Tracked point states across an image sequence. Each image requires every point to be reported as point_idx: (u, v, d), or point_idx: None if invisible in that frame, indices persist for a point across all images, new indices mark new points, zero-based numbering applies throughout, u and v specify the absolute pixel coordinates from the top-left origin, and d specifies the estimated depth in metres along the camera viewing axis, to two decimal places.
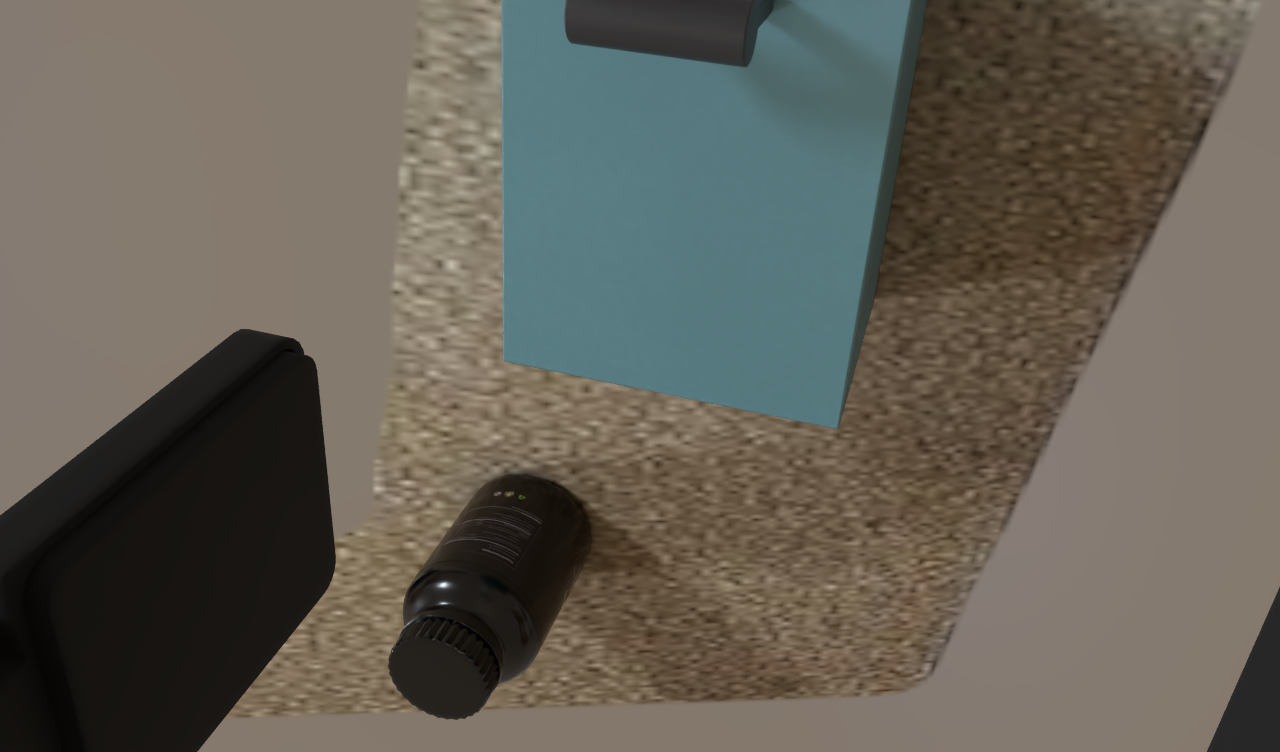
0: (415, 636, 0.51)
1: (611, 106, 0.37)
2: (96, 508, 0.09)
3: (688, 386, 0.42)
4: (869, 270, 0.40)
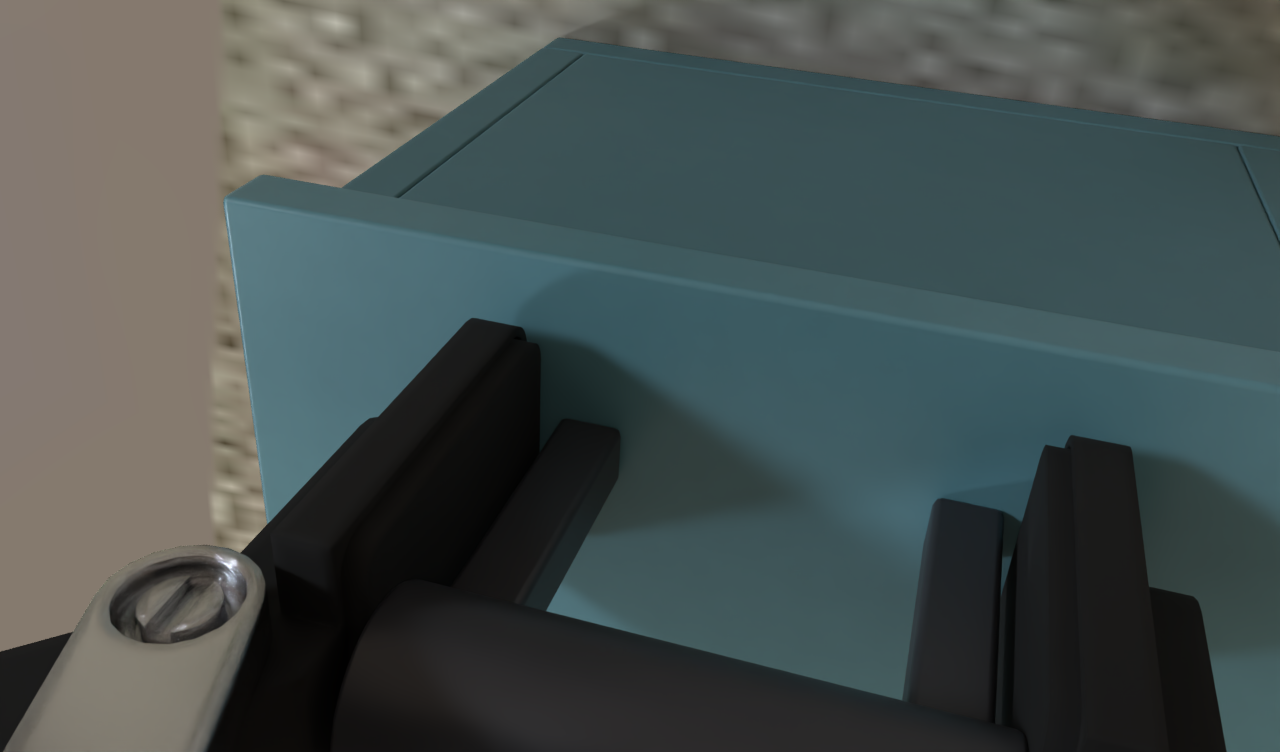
0: None
1: None
2: (391, 485, 0.09)
3: None
4: None
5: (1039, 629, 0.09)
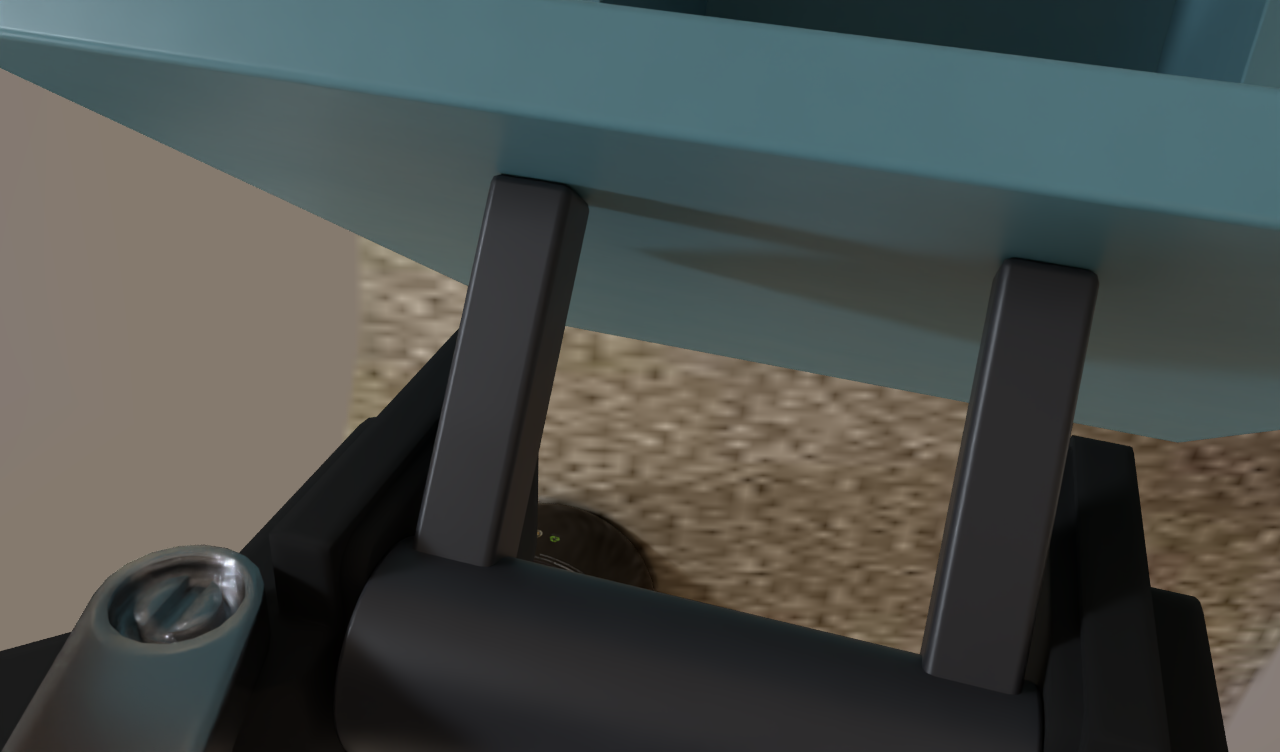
0: None
1: (597, 263, 0.13)
2: (390, 485, 0.09)
3: (885, 384, 0.22)
4: None
5: (1041, 629, 0.09)
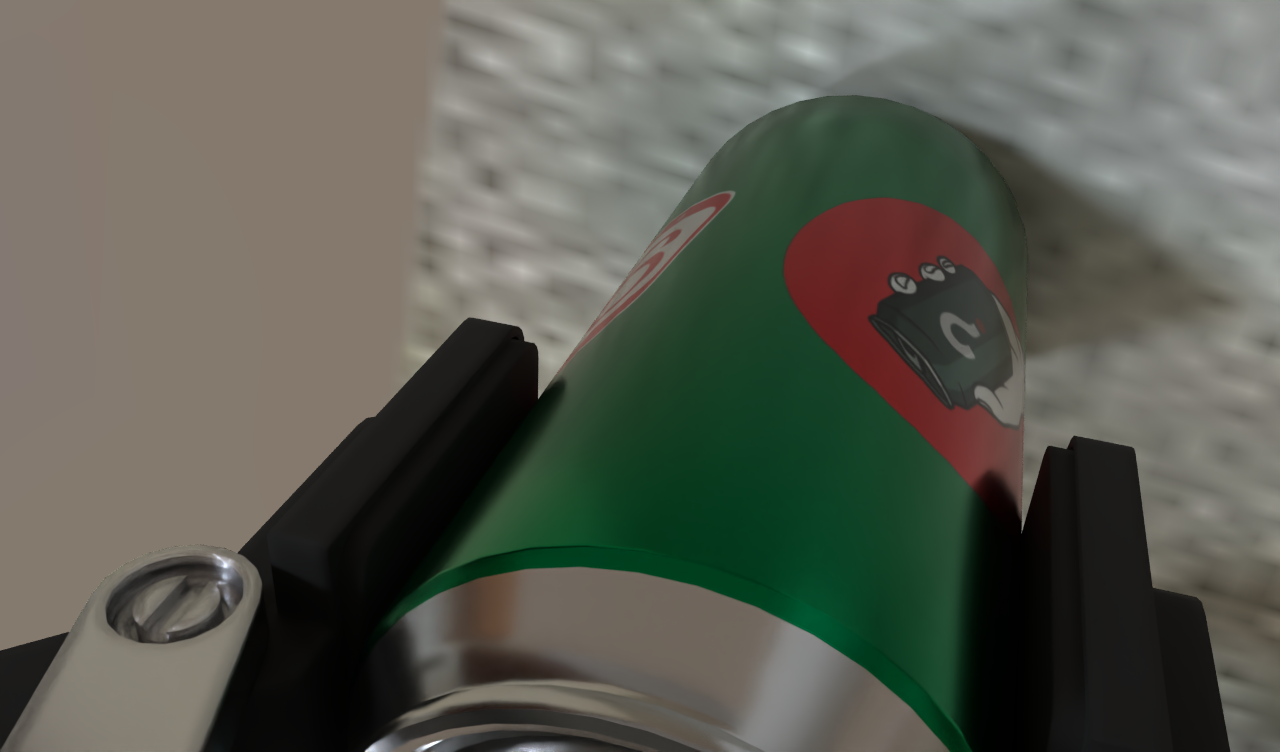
0: None
1: None
2: (388, 485, 0.09)
3: None
4: None
5: (1042, 630, 0.09)
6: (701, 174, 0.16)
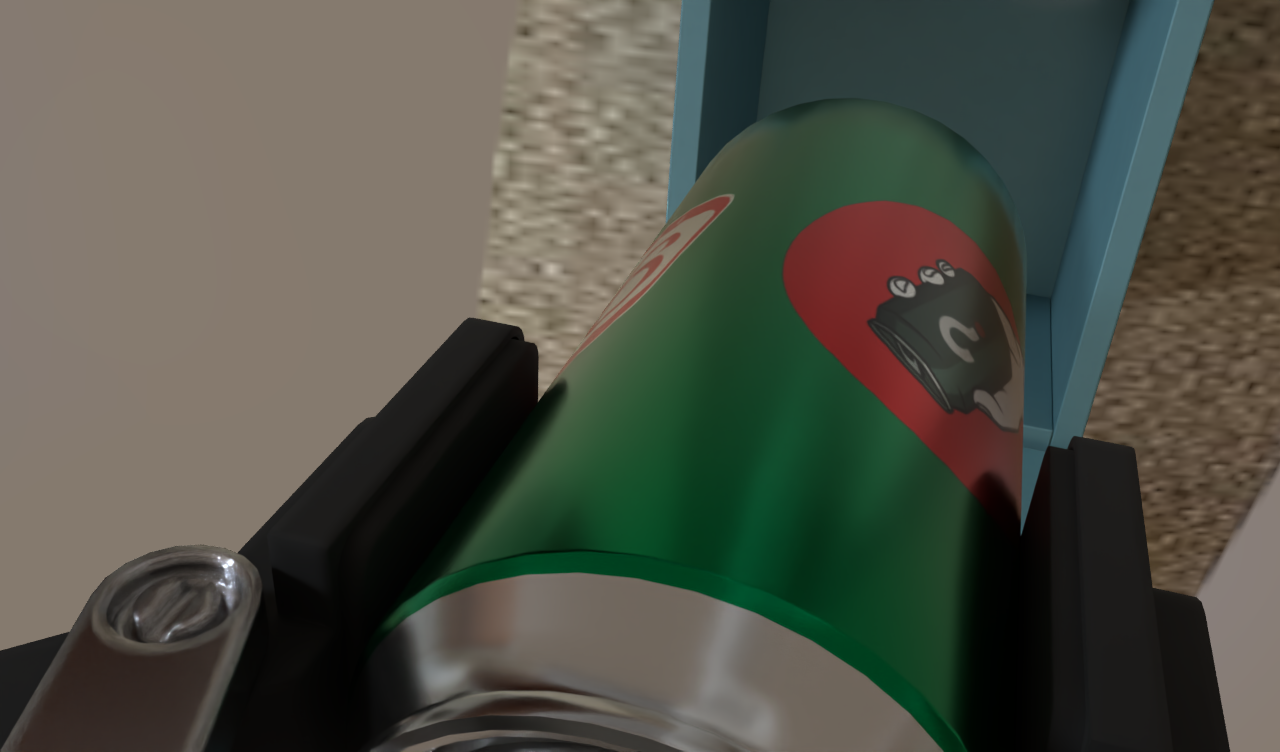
0: None
1: None
2: (389, 485, 0.09)
3: None
4: None
5: (1042, 630, 0.09)
6: (700, 177, 0.16)
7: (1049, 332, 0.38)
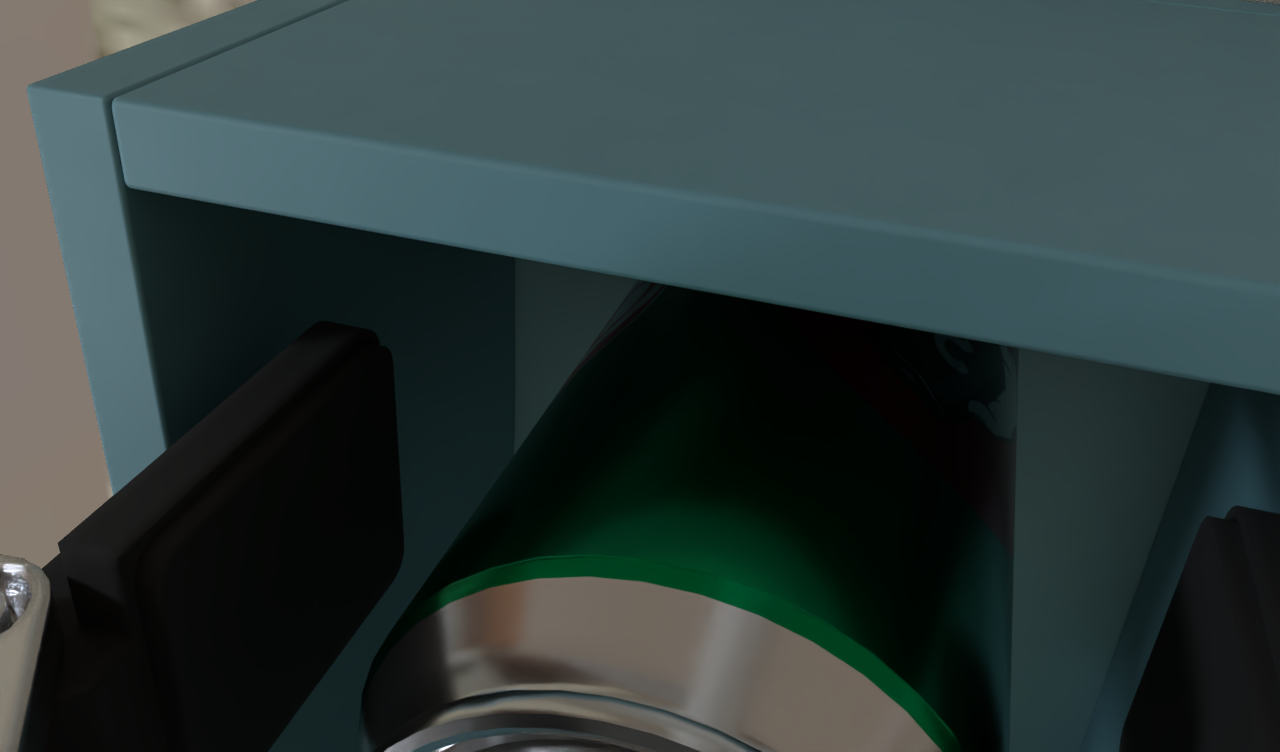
0: None
1: None
2: (199, 492, 0.09)
3: None
4: None
5: (1238, 734, 0.08)
6: None
7: None
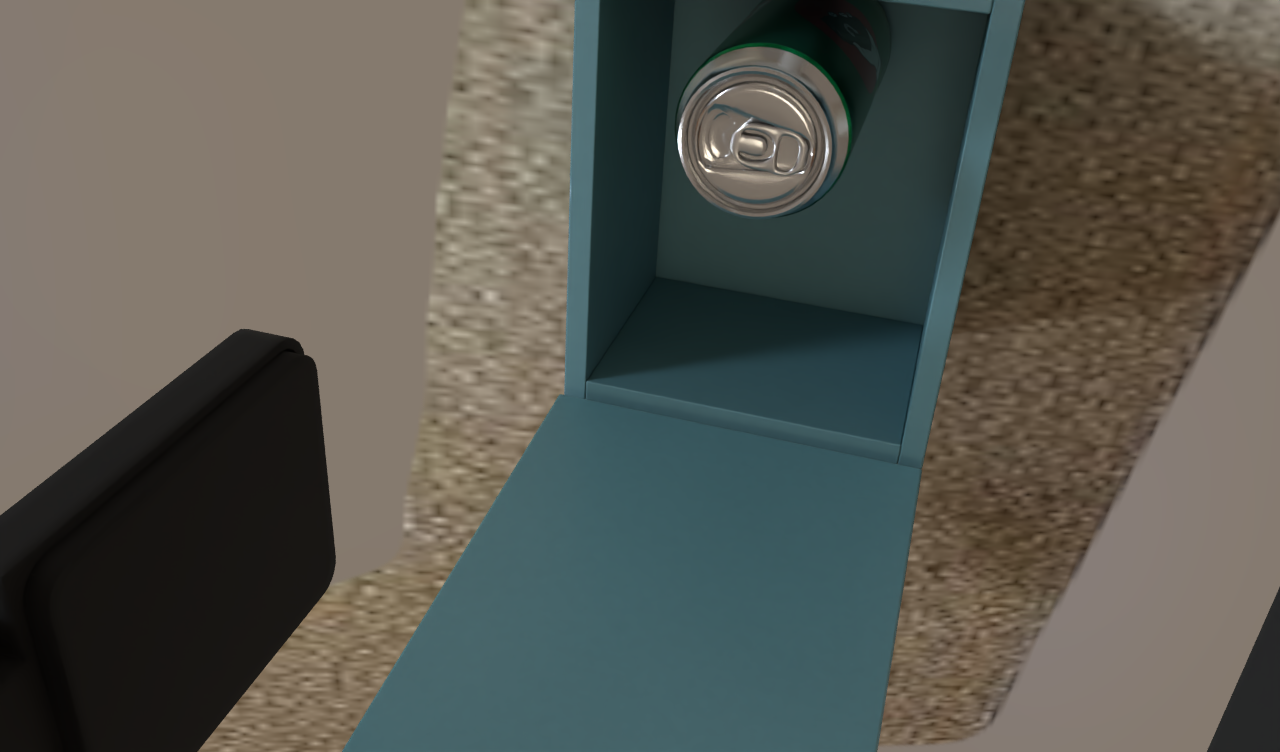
0: None
1: None
2: (96, 507, 0.09)
3: None
4: None
5: None
6: None
7: (915, 357, 0.44)
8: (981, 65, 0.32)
